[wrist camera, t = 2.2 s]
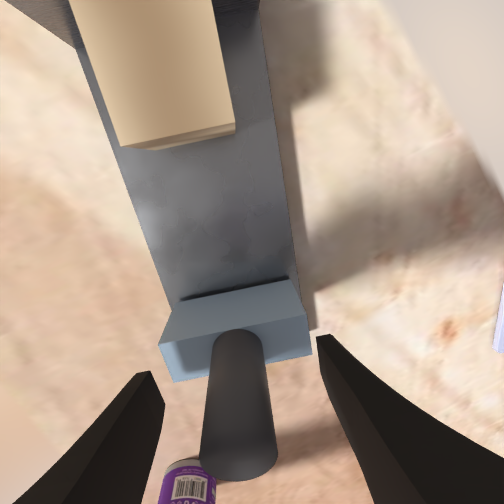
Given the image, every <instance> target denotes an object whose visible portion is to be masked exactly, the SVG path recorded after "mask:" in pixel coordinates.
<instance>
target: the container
mask: <svg viewBox="0 0 504 504" xmlns="http://www.w3.org/2000/svg"><path fill="white" fill-rule="evenodd" d="M216 480H217V478H215V477H213V476H211V475H209V474H208V473H207V472H205V471H204V469H203V468H202V467H201V465H200V462H199V460H197V459H186V460H181V461H178V462H176V463H174V464H172V465H171V466H169V467H168V468H167V470H166V471H165V475H164V479H163V483H162V487H161V492H160V496H159V500H158V504H215V499H216Z"/></svg>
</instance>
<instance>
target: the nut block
mask: <svg viewBox="0 0 504 504" xmlns="http://www.w3.org/2000/svg"><path fill="white" fill-rule="evenodd" d="M69 3H70V5H71V8H72V11H73V14H74V17H75V20H76V22H77V25H78V28H79V31H80V34H81V36H82V39H83V42H84V45H85V48H86V51H87V53H88V56H89V59H90V62H91V65H92V67H93V70H94V73H95V76H96V79H97V81H98V84H99V87H100V90H101V93H102V96H103V98H104V101H105V104H106V107H107V110H108V112H109V115H110V118H111V121H112V124H113V126H114V129H115V132H116V135H117V138H118V141H119V143H120V146H121V147H129V148H138V149H147V150H160V149H165V148H170V147H174V146H179V145H184V144H188V143H193V142H198V141H202V140H207V139H212V138H216V137H221V136H226V135H231V134H235V118H234V113H233V108H232V103H231V98H230V93H229V88H228V83H227V78H226V73H225V68H224V63H223V57H222V52H221V47H220V42H219V37H218V32H217V27H216V22H215V17H214V12H213V7H212V2H211V0H69Z"/></svg>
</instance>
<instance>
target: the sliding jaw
mask: <svg viewBox="0 0 504 504" xmlns="http://www.w3.org/2000/svg"><path fill="white" fill-rule="evenodd" d="M158 346H159V349H160V351H161V353H162V356H163V358H164V361H165V363H166V365H167V368H168V370H169V373H170V375H171V377H172V380H173V382H174V383H175V382H180V381H185V380H190V379H195V378H200V377H205V376H209V380H208V388H207V396H206V404H205V412H204V420H203V428H202V436H201V445H200V453H199V462H200V465H201V467H202V468H203V469H204V471H205V472H207V473H208V474H209V475H211V476H213V477H215V478H217V479H220V480H225V481H246V480H250V479H254V478H257V477H259V476H261V475H263V474H264V473H266V472H267V471H269V470H270V469H271V468H272V467H273V465H274V464H275V462H276V460H277V457H278V450H277V443H276V436H275V429H274V422H273V415H272V409H271V402H270V395H269V388H268V381H267V374H266V367H265V364H269V363H274V362H279V361H283V360H288V359H293V358H298V357H303V356H308V355H312V348H311V341H310V334H309V327H308V320H307V314H306V312H305V309H304V307H303V305H302V303H301V301H300V298H299V296H298V294H297V292H296V290H295V288H294V285H293V283H292V281H291V279H289V280H284V281H279V282H274V283H269V284H265V285H260V286H255V287H250V288H245V289H240V290H235V291H231V292H226V293H221V294H216V295H211V296H206V297H202V298H197V299H192V300H187V301H182V302H177V303H175V305H174V307H173V310H172V312H171V315H170V317H169V319H168V322H167V324H166V326H165V329H164V331H163V334H162V336H161V338H160V341H159V343H158Z"/></svg>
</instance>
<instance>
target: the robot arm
mask: <svg viewBox="0 0 504 504" xmlns="http://www.w3.org/2000/svg"><path fill="white" fill-rule="evenodd" d="M316 342H317V350H318V357H319V365H320V372H321V376H322V379H323V382H324V385H325V387H326V390H327V393H328V396H329V399H330V401H331V403H332V405H333V407H334V410H335V412H336V414H337V416H338V418H339V421H340V423H341V425H342V427H343V429H344V431H345V434H346V436H347V438H348V440H349V442H350V444H351V447H352V449H353V451H354V453H355V455H356V457H357V460H358V462H359V465H360V467H361V469H362V472H363V474H364V477H365V480H366V482H367V485H368V488H369V490H370V493H371V496H372V498H373V501H374V504H504V458H503V457H501V456H499V455H497V454H495V453H493V452H492V451H490V450H488V449H486V448H484V447H482V446H480V445H479V444H477V443H475V442H474V441H472V440H470V439H468V438H467V437H465V436H463V435H462V434H460V433H458V432H457V431H455V430H453V429H452V428H450V427H448V426H447V425H445V424H443V423H442V422H440V421H438V420H437V419H435V418H434V417H432V416H431V415H429V414H428V413H426V412H425V411H423V410H421V409H420V408H419V407H417V406H416V405H414V404H413V403H411V402H410V401H408V400H407V399H406V398H404V397H403V396H401V395H400V394H399V393H397V392H396V391H395V390H393V389H392V388H391V387H390V386H388V385H387V384H386V383H384V382H383V381H382V380H381V379H379V378H378V377H377V376H376V375H375V374H373V373H372V372H371V371H370V370H369V369H368V368H366V367H365V366H364V365H363V364H362V363H361V362H359V361H358V360H357V359H356V358H355V357H354V356H353V355H352V354H351V353H350V352H349V351H348V350H346V349H345V348H344V347H343V346H342V345H341V344H340V343H339V342H338V341H337V340H336V339H335V338H334V336H333V335H331V334H327V335H322V336H317V337H316ZM492 347H493V349H494V350H495V351H496V352H498V353H504V284H503V290H502V295H501V301H500V307H499V312H498V318H497V323H496V329H495V334H494V340H493V345H492ZM164 411H165V402H164V400H163V398H162V396H161V393H160V391H159V389H158V387H157V384H156V382H155V380H154V378H153V376H152V373H151V371H145V372H140V373H136V374H135V375H134V376H133V377H132V379H131V380H130V381H129V382H128V383H127V384H126V385H125V387H124V388H123V389H122V390H121V391H120V392H119V394H118V395H117V396H116V397H115V398H114V400H113V401H112V402H111V403H110V404H109V405H108V406H107V408H106V409H105V410H104V411H103V412H102V413H101V415H100V416H99V417H98V418H97V419H96V420H95V421H94V423H93V424H92V425H91V426H90V427H89V428H88V429H87V430H86V431H85V432H84V434H83V435H82V436H81V437H80V438H79V439H78V440H77V441H76V442H75V443H74V444H73V445H72V447H71V448H70V449H69V450H68V451H67V452H66V453H65V454H64V455H63V456H62V457H61V458H60V459H59V460H58V461H57V462H56V463H55V464H54V465H53V466H52V467H51V468H50V469H49V470H48V471H47V472H46V473H45V474H44V475H43V476H42V477H41V478H40V479H39V480H38V481H37V482H36V483H35V484H34V485H33V486H32V487H30V488H29V489H28V490H27V491H26V492H25V493H24V494H23V495H22V496H21V497H20V498H18V499H17V500H16V501H15V502H14V503H13V504H141V502H142V498H143V495H144V491H145V488H146V484H147V480H148V477H149V473H150V470H151V466H152V463H153V459H154V456H155V452H156V448H157V445H158V441H159V437H160V434H161V429H162V423H163V417H164Z"/></svg>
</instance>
